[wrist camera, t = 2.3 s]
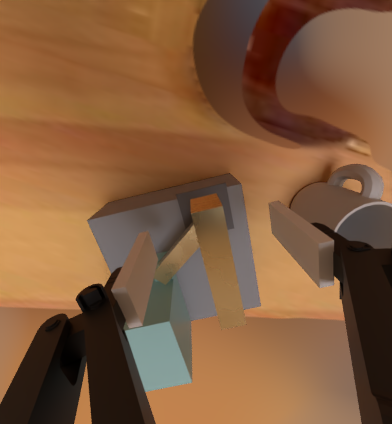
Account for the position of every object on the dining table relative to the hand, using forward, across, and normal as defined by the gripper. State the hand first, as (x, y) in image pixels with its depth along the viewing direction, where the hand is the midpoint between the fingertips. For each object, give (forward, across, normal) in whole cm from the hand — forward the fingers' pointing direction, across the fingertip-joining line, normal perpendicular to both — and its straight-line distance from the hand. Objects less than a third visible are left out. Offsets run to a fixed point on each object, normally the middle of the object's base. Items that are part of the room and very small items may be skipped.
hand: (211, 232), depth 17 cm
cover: (+5, -9, -9) cm, 13 cm away
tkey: (+5, -3, -1) cm, 5 cm away
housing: (+11, -4, -6) cm, 13 cm away
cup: (+11, +15, -4) cm, 19 cm away
